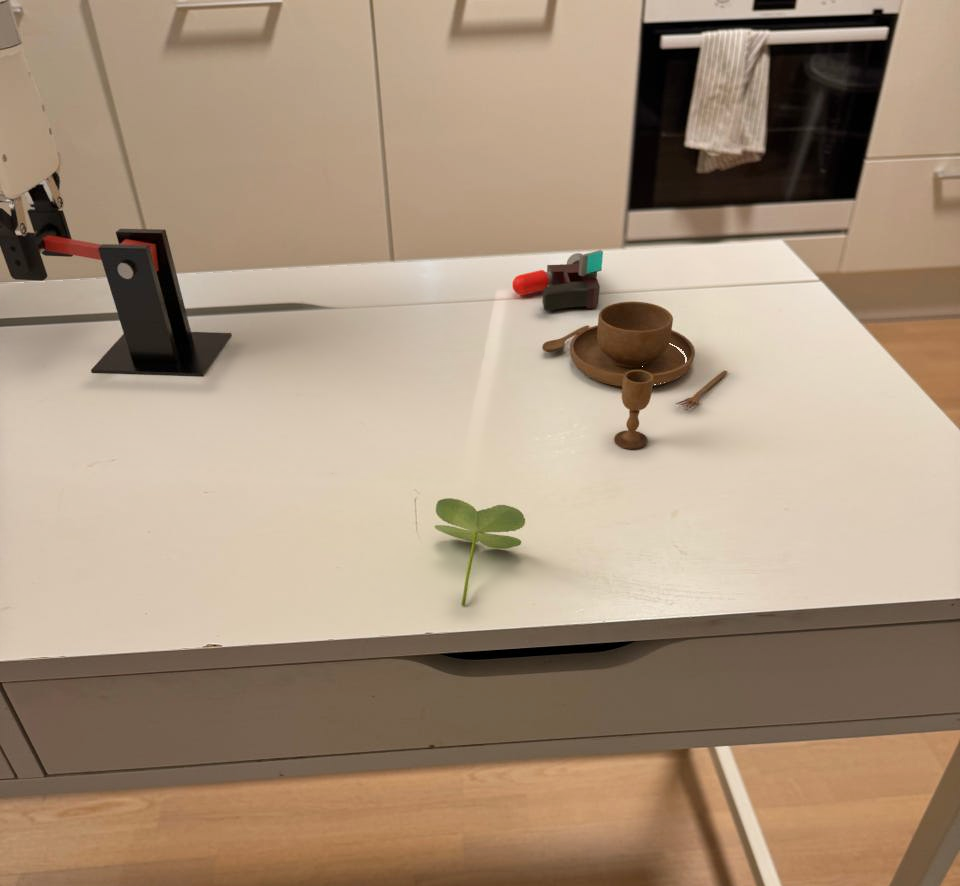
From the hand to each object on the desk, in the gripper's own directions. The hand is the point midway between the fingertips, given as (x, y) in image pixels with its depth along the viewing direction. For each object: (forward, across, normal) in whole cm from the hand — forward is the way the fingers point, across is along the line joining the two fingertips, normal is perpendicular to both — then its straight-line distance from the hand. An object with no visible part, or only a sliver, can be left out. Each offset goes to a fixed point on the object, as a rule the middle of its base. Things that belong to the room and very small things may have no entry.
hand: (44, 264), depth 80 cm
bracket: (+9, 0, +9) cm, 13 cm away
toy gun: (+9, -20, +47) cm, 52 cm away
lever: (0, 0, +5) cm, 5 cm away
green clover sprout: (+9, +30, +42) cm, 53 cm away
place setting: (+8, +1, +53) cm, 54 cm away
